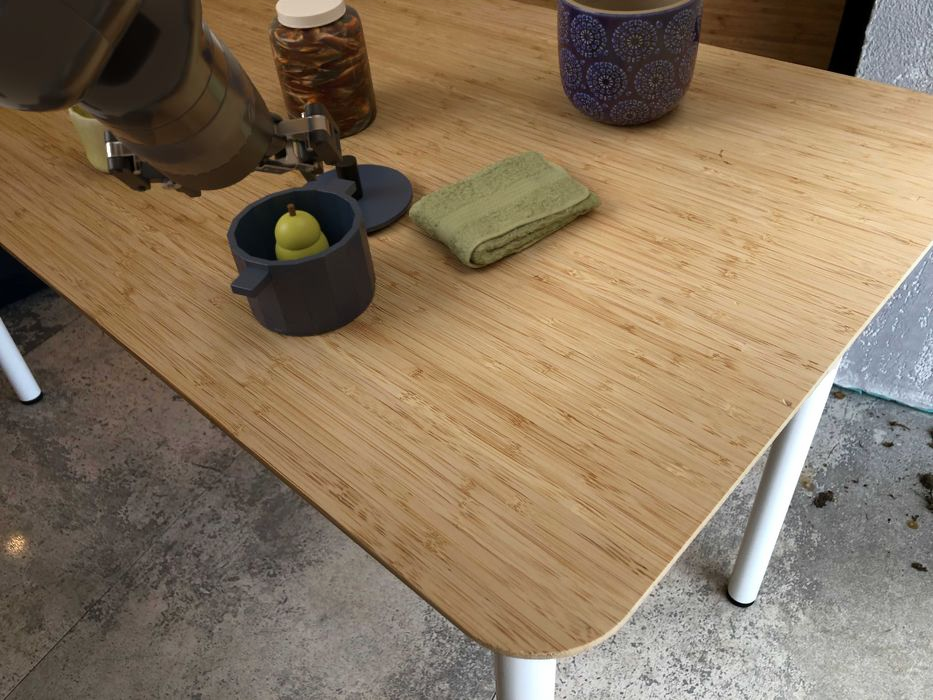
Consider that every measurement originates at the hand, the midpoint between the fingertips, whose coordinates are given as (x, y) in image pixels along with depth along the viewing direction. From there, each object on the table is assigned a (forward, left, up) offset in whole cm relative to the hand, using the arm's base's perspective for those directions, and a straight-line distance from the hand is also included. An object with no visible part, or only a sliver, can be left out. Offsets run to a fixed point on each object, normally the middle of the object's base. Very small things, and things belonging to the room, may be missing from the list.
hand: (252, 176), depth 62 cm
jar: (-23, +41, -20) cm, 51 cm away
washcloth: (+7, +27, -20) cm, 35 cm away
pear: (-6, +9, -20) cm, 23 cm away
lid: (-10, +24, -20) cm, 33 cm away
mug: (-42, +24, -20) cm, 52 cm away
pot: (-6, +9, -20) cm, 23 cm away
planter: (+12, +54, -20) cm, 59 cm away
